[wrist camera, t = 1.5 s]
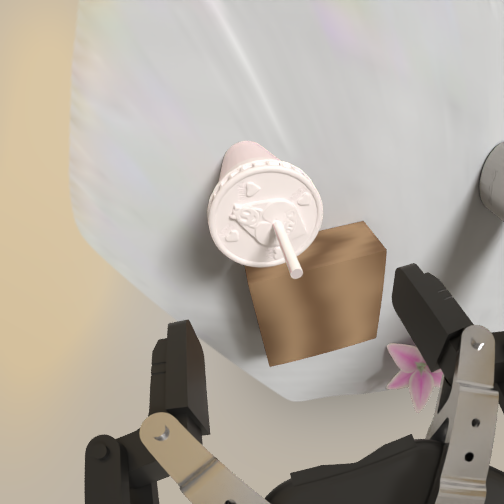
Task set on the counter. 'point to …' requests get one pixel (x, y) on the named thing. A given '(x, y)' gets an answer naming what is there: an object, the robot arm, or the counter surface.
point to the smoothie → (263, 209)
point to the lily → (413, 374)
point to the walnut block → (321, 295)
